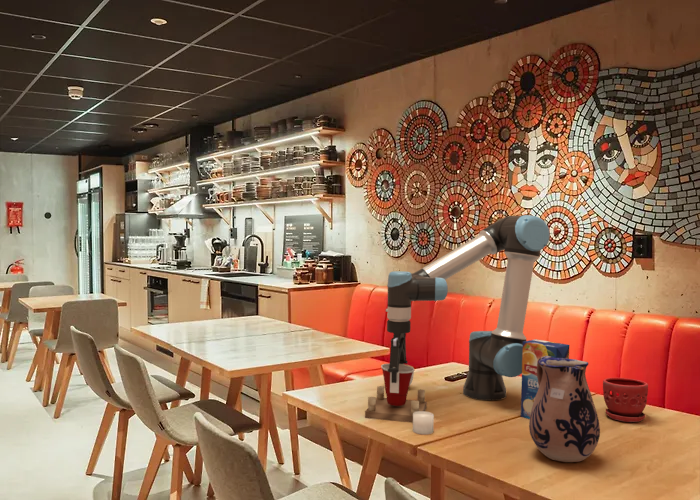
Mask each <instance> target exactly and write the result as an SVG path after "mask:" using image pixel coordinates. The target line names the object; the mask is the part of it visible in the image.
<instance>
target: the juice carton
mask: <svg viewBox="0 0 700 500" xmlns="http://www.w3.org/2000/svg"><path fill="white" fill-rule="evenodd" d="M543 356H550V357H554V358H564V359H565V358H567V359H570V344H567V343H566V344H565V343H560V342H556V341H555V342H554V341H548V340H543V339H536V338H535V339H531V340H526V341H524V342H523V352H522V374H521V387H520V389H521V390H520V391H521V394H520V396H521V397H520V418H524V419H528V420H530V414H531V409H532V406H533V403H534V399H535V397H536V394H537V392H538V389H539V384H538V378H537V363H538V360H539V359H540V358H541V357H543Z"/></svg>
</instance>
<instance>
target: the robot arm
mask: <svg viewBox="0 0 700 500" xmlns="http://www.w3.org/2000/svg"><path fill="white" fill-rule="evenodd" d="M549 240H550V228H549V226H548V224H546V222H545V220H544V219H543V218H541V217H539V216H536V215H531V214H523V215H508V216H505V217H503V218H501V219H499V220H497V221H496V222H493V223H492V224H490V225H489V226H487V227H485V228H484V229H482V230H480V231H479V233H478V235H477V236H476V237H474V238H472V239H470V240H468V241H467V242H465V243H463V244H461V245H459V247H456V248H455V249H453V250H451V251H450V252H448V253H446V254H444V255H443V256H441V257H439V258H438V259H436V260H434V261H432V262H431V263H429V264H428V265H426V266H424V267H422V268H420V269H418V270H417V271H415V272H410V271H399V270H398V271H397V270H394V271H390V272H389V273H388V278H387V284H386V285H387V308H386V309H385V313H386V312H387V314H386V315H387V317H386V318H387V321H386V331H387V332H388V333H390V334H393V336H392V337H391V340H390V353H389V354H390V356H389V363H388V364H389V369H388V372H390V393H399V364H402V365H408V361H409V360H407V349H406V348H407V345H406V344H407V343H406V335H407V334H409V333H411V321H410V320H411V319H412V302H424V301H425V302H426V301H428V302H432V301H433V302H438V301H439V302H440V301H444V300H445V299H446V298H447V296H448V282H447V281H446V280H448V279H449V278H451V277H453V276H455V275H456V274H458V273H460V272H461V271H463V270H465V269H466V268H468V267H470V266H472V265H473V264H475V263H476V262H478V261H480V260H482V259H484V258H485V257H487V256H488V255H490V254H491V255H496V254H498V253H500V252H502V251H504V254H505V256H506V258H507V262H506V268H505V276H504V281H503V287H502V294H501V301H500V306H499V313H498V318H497V324H496V328H495V329H493V330H476V331H474V330H473V331H472V332H470V334H469V340H468V373H467V376H466V379H465V381H464V384H463V387H462V390H463V391H462V394H463V395H464V396H466V397H468V398H470V399H474V400H482V401H499V400H504V399H506V398H507V387H506V384H505V382H504V378H503V377H505V378H517V377H519V376H521V375H522V352H523V342H524V341H527V337H526V336H525V334H524V326H525V322H526V321H525V320H526V315H527V308H528V303H529V296H530V290H531V284H532V283H531V282H532V278H533V271H534V264H535V262H536V261H537V260H539V259H540V258H541V251H542V250H543V249H545V247H547V245H548V244H549ZM393 367H395V368H393Z"/></svg>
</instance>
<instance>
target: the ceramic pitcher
mask: <svg viewBox="0 0 700 500" xmlns="http://www.w3.org/2000/svg"><path fill="white" fill-rule="evenodd" d="M588 366H589V362H588V361H584V360H583V361H582V360H578V359H573V358H569V359H567V358H565V359H564V358H554V357H550V356H543V357H541V358H540V359H539V360H538V363H537V378H538V384H539V389H538V392H537V394H536V397H535V399H534V403H533V406H532V409H531V414H530V419H529V422H528V423H529V424H528V427H529V428H528V430H529V434H530V437H531V440H533V441H532V442H533V443H534V445H535V446H536V448H537V449H538V450H539V452H540V453H542V454H543V455H544V456H545V457H547V458H548V459H550V460H553V461H557V462H563V463H578V462H582V461H584V460H586V459H587V458H589V457H590V456H591V455H592V454H593V453H594V451H595V450H596V447H597V446H598V443H599V441H600V436H601V426H600V419H599V415H598V412H597V409H596V406H595V402H594V399H593V396H592V393H591V391H590V387H589V383H588V381H587V378H586V372H587V367H588Z"/></svg>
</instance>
